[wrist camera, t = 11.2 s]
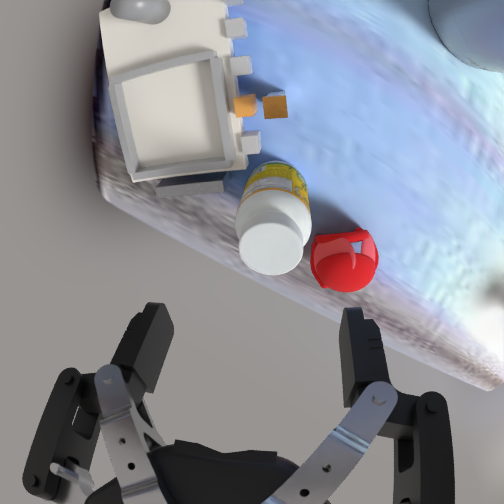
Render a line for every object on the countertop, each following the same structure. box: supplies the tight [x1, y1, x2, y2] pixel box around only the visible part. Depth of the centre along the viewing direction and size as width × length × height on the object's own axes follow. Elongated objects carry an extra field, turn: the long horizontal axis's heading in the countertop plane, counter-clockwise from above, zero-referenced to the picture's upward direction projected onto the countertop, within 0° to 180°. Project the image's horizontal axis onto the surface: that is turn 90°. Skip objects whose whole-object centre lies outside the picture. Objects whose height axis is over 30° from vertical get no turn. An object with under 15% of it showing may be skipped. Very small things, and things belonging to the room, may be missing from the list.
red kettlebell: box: [310, 227, 379, 292], centre depth 26 cm, size 8×6×6 cm
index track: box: [155, 91, 288, 198], centre depth 16 cm, size 24×12×6 cm, turn 7°
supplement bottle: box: [235, 161, 312, 275], centre depth 22 cm, size 5×5×10 cm
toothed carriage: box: [99, 0, 262, 182], centre depth 17 cm, size 16×11×6 cm
